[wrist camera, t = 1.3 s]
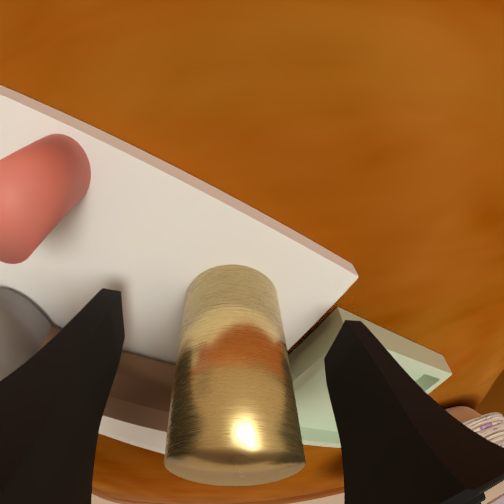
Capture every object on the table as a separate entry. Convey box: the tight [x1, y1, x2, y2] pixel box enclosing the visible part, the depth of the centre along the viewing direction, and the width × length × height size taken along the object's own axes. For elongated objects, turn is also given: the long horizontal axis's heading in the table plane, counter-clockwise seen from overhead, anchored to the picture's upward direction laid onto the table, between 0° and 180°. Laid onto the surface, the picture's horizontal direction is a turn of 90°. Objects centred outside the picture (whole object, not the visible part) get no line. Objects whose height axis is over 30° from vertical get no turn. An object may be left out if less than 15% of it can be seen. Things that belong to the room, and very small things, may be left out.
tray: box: [288, 307, 452, 448], centre depth 15 cm, size 9×9×2 cm
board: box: [0, 85, 359, 454], centre depth 12 cm, size 19×22×1 cm
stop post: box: [0, 134, 91, 264], centre depth 7 cm, size 2×2×3 cm
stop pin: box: [164, 264, 305, 486], centre depth 8 cm, size 3×3×6 cm
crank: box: [0, 288, 175, 432], centre depth 10 cm, size 13×4×4 cm, turn 68°
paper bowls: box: [445, 406, 504, 448], centre depth 19 cm, size 15×15×8 cm
